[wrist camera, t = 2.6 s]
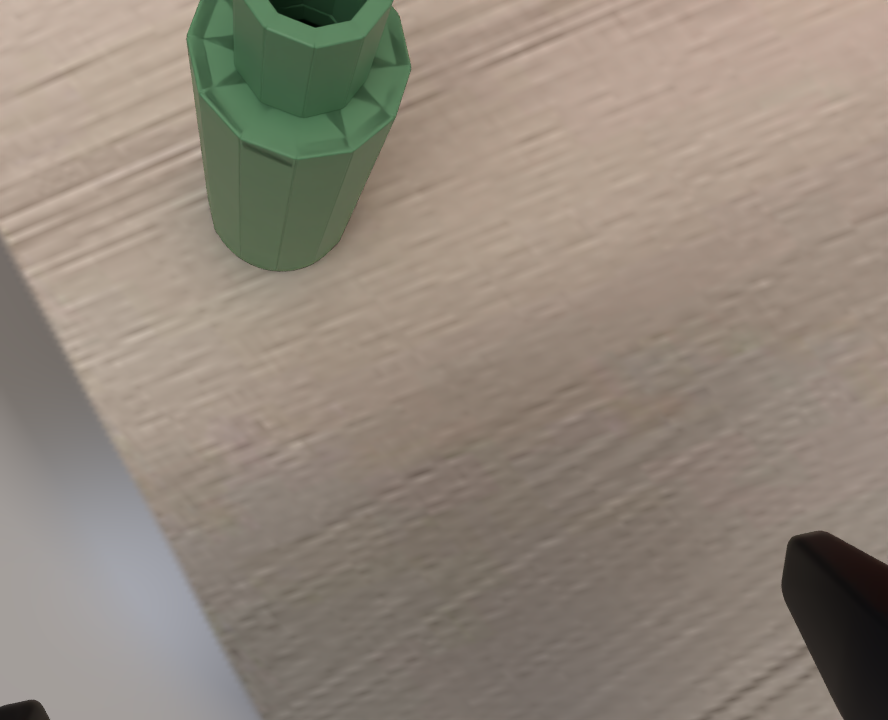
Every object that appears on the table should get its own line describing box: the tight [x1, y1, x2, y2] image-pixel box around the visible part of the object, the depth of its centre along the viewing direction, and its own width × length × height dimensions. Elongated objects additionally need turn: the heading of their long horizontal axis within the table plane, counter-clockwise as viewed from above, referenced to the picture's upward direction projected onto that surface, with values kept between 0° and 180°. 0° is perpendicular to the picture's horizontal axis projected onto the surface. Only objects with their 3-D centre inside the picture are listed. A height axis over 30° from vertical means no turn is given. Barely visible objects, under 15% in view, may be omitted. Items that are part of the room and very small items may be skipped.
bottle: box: [186, 0, 411, 271], centre depth 17 cm, size 4×4×12 cm
